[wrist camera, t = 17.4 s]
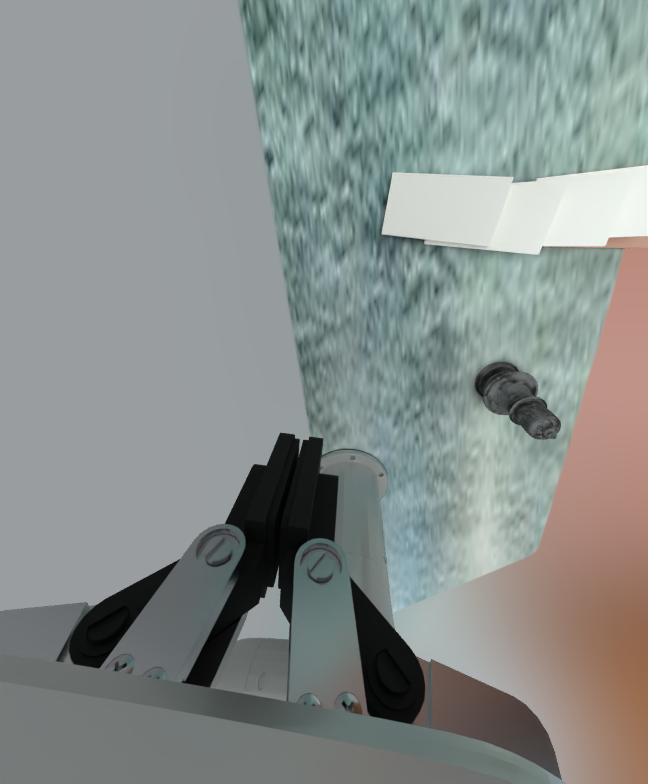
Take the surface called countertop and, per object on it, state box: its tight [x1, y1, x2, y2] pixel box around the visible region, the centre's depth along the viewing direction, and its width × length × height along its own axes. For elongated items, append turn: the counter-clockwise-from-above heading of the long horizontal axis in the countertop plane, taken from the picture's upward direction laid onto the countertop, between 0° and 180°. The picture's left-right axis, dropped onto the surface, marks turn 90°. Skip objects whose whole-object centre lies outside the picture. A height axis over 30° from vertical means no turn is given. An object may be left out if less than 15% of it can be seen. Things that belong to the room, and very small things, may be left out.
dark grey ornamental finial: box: [475, 362, 561, 440], centre depth 31 cm, size 6×6×12 cm
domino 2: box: [424, 185, 566, 255], centre depth 26 cm, size 5×2×10 cm
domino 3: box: [511, 174, 635, 246], centre depth 26 cm, size 5×2×10 cm
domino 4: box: [535, 165, 648, 238], centre depth 25 cm, size 5×2×10 cm
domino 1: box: [382, 172, 514, 247], centre depth 26 cm, size 5×2×10 cm
